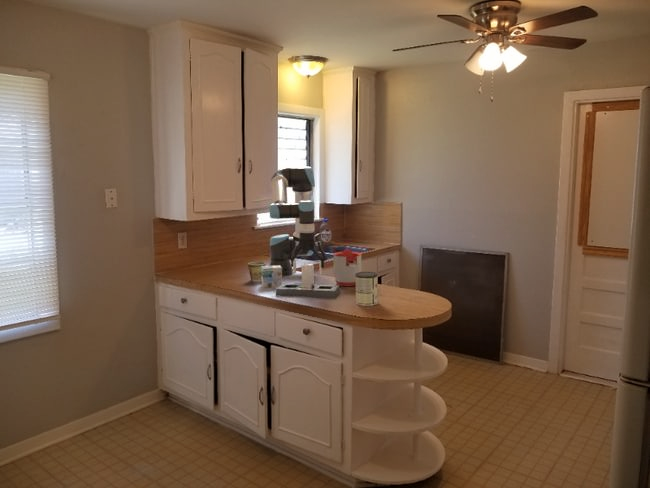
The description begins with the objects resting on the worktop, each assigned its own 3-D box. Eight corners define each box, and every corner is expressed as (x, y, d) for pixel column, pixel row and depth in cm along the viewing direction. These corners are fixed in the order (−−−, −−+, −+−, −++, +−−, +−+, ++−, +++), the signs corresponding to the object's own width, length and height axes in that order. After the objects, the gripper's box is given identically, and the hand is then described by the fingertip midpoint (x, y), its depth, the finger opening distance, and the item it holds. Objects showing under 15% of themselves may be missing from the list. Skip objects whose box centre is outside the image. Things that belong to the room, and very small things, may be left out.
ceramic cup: (262, 282, 306) (262, 265, 305) (245, 282, 308) (245, 264, 307) (269, 278, 319) (269, 261, 317) (253, 277, 321) (252, 260, 319)
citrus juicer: (338, 289, 287) (338, 251, 284) (329, 282, 304) (329, 246, 301) (367, 287, 291) (367, 249, 288) (356, 280, 308) (356, 245, 305)
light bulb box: (263, 288, 292) (262, 268, 291) (261, 285, 299) (260, 266, 297) (282, 286, 295) (282, 267, 294) (280, 284, 301) (279, 264, 300)
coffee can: (354, 300, 262) (354, 271, 260) (376, 300, 262) (376, 271, 260) (356, 306, 252) (356, 276, 250) (378, 305, 252) (378, 275, 250)
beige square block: (304, 292, 281) (304, 263, 279) (314, 292, 280) (313, 263, 278) (302, 294, 276) (301, 265, 274) (311, 295, 275) (311, 265, 273)
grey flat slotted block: (283, 289, 288) (283, 283, 287) (339, 291, 281) (339, 285, 280) (275, 295, 275) (275, 288, 275) (334, 297, 268) (334, 290, 268)
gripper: (280, 232, 273) (281, 274, 276) (329, 233, 267) (330, 276, 270) (285, 230, 280) (286, 271, 283) (333, 231, 274) (333, 273, 277)
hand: (307, 273), depth 277 cm, fingers open, 13 cm apart
